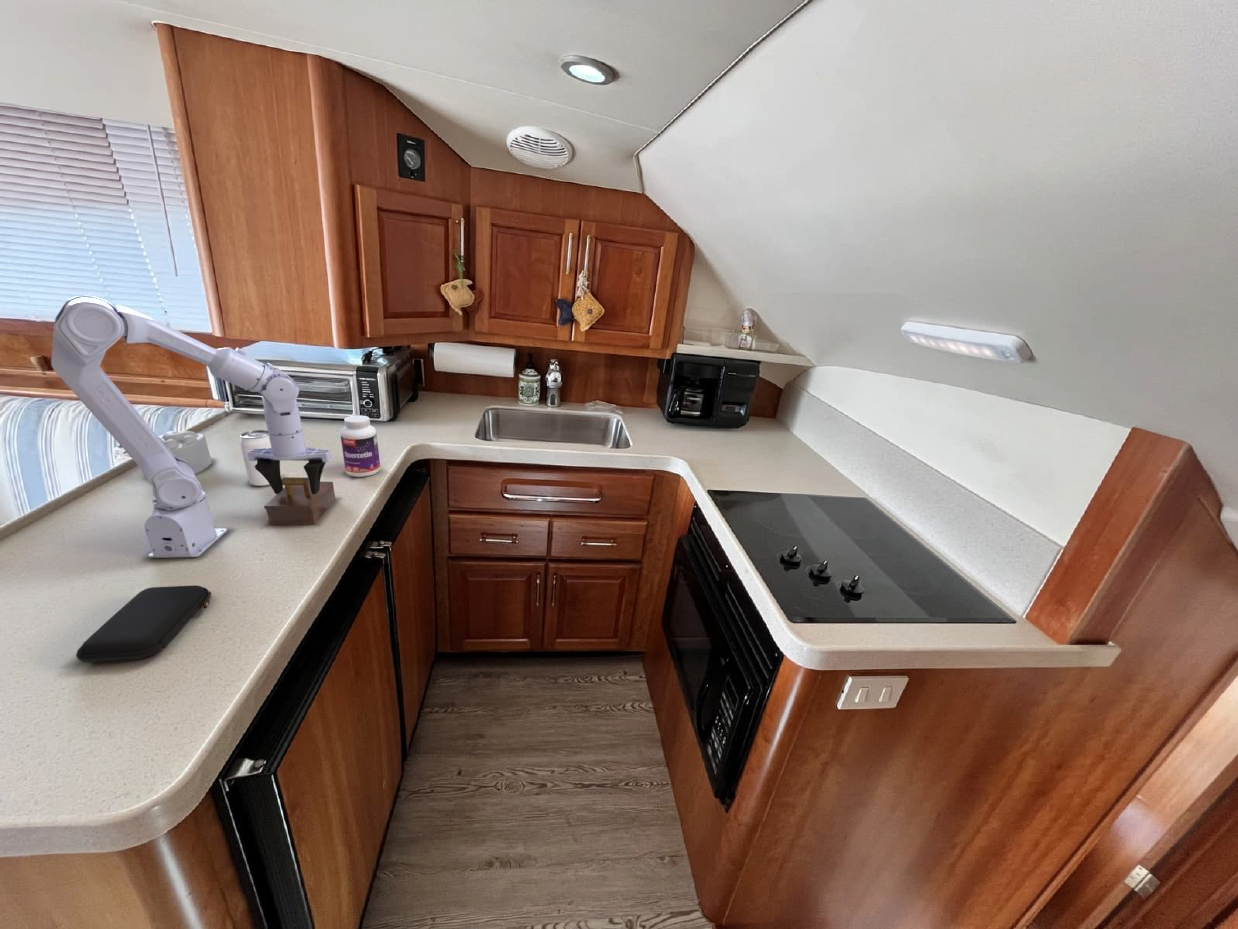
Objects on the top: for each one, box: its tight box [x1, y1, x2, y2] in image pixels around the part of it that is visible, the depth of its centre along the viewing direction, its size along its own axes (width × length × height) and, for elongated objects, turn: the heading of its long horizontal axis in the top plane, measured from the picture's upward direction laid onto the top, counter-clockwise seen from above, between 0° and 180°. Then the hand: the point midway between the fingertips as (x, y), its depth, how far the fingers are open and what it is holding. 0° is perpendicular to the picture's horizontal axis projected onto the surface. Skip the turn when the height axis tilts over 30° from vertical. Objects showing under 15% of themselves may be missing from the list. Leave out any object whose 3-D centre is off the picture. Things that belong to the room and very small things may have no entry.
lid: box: [263, 476, 334, 510], centre depth 103 cm, size 12×9×5 cm
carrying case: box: [76, 584, 212, 664], centre depth 72 cm, size 11×3×15 cm
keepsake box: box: [265, 484, 337, 525], centre depth 105 cm, size 11×9×4 cm
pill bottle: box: [339, 414, 381, 478], centre depth 123 cm, size 8×8×14 cm
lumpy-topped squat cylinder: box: [157, 430, 213, 475], centre depth 117 cm, size 10×13×9 cm
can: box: [239, 429, 283, 487], centre depth 115 cm, size 6×6×12 cm
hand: (297, 491), depth 103 cm, fingers open, 6 cm apart
